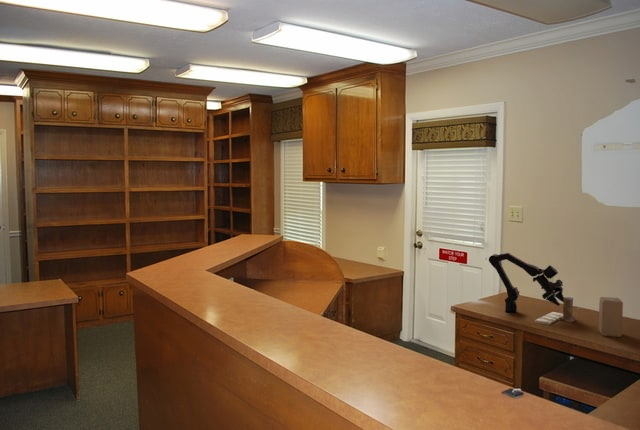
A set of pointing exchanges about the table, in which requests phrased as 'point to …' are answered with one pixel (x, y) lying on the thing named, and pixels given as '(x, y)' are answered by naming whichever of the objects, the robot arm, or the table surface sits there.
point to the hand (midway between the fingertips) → (562, 303)
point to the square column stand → (567, 310)
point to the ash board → (549, 318)
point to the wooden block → (610, 316)
